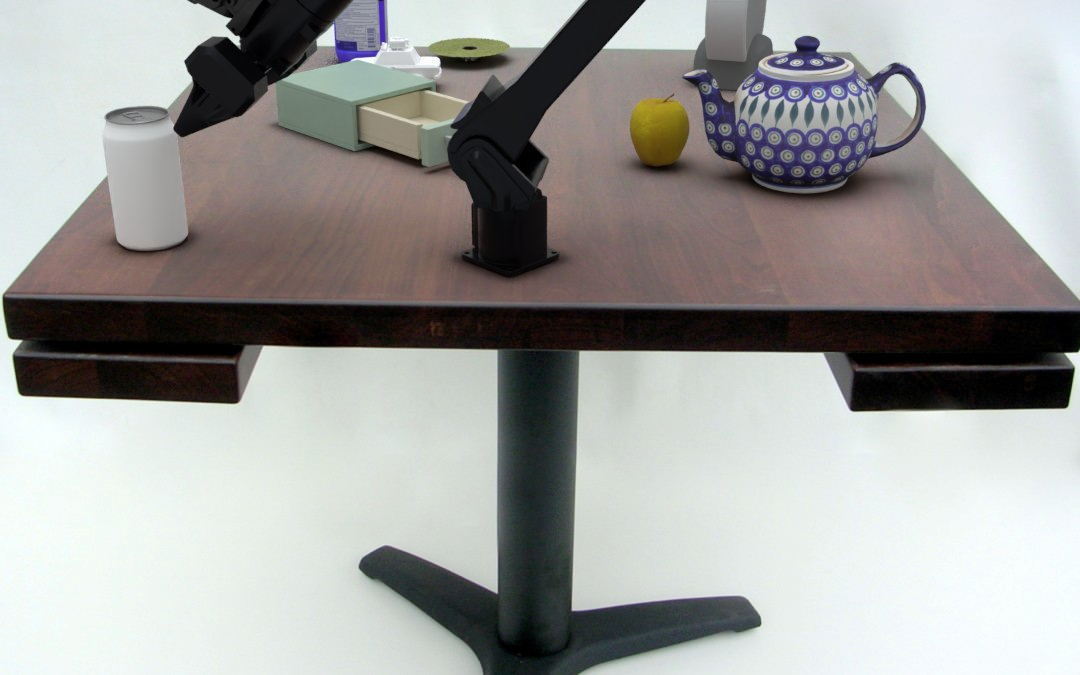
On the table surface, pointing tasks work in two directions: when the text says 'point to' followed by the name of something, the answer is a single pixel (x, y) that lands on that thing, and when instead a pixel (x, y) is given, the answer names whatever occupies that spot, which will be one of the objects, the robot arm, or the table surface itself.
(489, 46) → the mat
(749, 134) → the teapot
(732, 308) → the table surface
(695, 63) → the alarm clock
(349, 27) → the bottle
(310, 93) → the cabinet
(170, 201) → the can
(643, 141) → the apple
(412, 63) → the toy car
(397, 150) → the drawer
